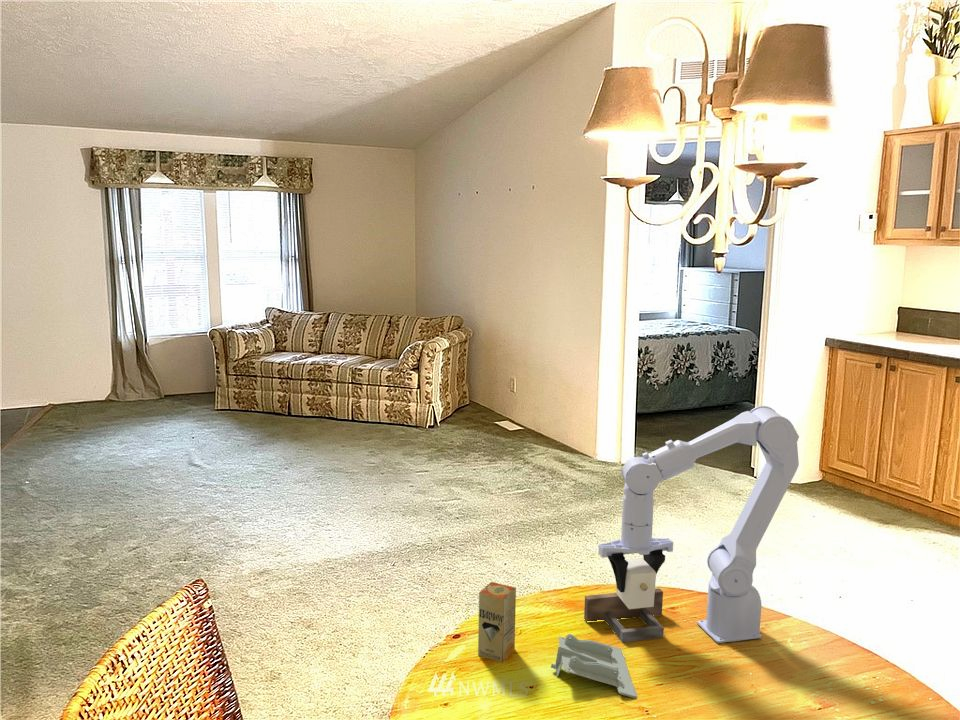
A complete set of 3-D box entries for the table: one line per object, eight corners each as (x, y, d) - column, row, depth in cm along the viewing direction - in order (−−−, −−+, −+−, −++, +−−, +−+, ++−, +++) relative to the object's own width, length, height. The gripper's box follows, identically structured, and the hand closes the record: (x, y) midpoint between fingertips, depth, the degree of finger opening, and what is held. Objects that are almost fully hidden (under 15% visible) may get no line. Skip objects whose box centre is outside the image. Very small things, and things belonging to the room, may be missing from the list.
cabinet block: (640, 591, 151) (642, 558, 150) (655, 608, 145) (658, 574, 143) (616, 593, 150) (618, 560, 149) (630, 611, 144) (633, 576, 142)
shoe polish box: (490, 642, 143) (491, 581, 141) (514, 649, 141) (515, 587, 139) (478, 655, 139) (479, 592, 137) (502, 662, 136) (504, 598, 135)
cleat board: (658, 611, 156) (659, 588, 155) (681, 635, 146) (683, 610, 146) (584, 619, 152) (584, 595, 151) (603, 644, 143) (604, 619, 142)
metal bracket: (563, 665, 126) (556, 620, 140) (552, 696, 126) (546, 648, 141) (647, 690, 126) (630, 642, 141) (635, 721, 127) (620, 670, 142)
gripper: (609, 531, 140) (606, 601, 142) (682, 525, 144) (678, 594, 146) (595, 518, 147) (592, 585, 149) (664, 512, 150) (661, 578, 153)
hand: (634, 588), depth 148 cm, fingers closed on cabinet block, 5 cm apart
